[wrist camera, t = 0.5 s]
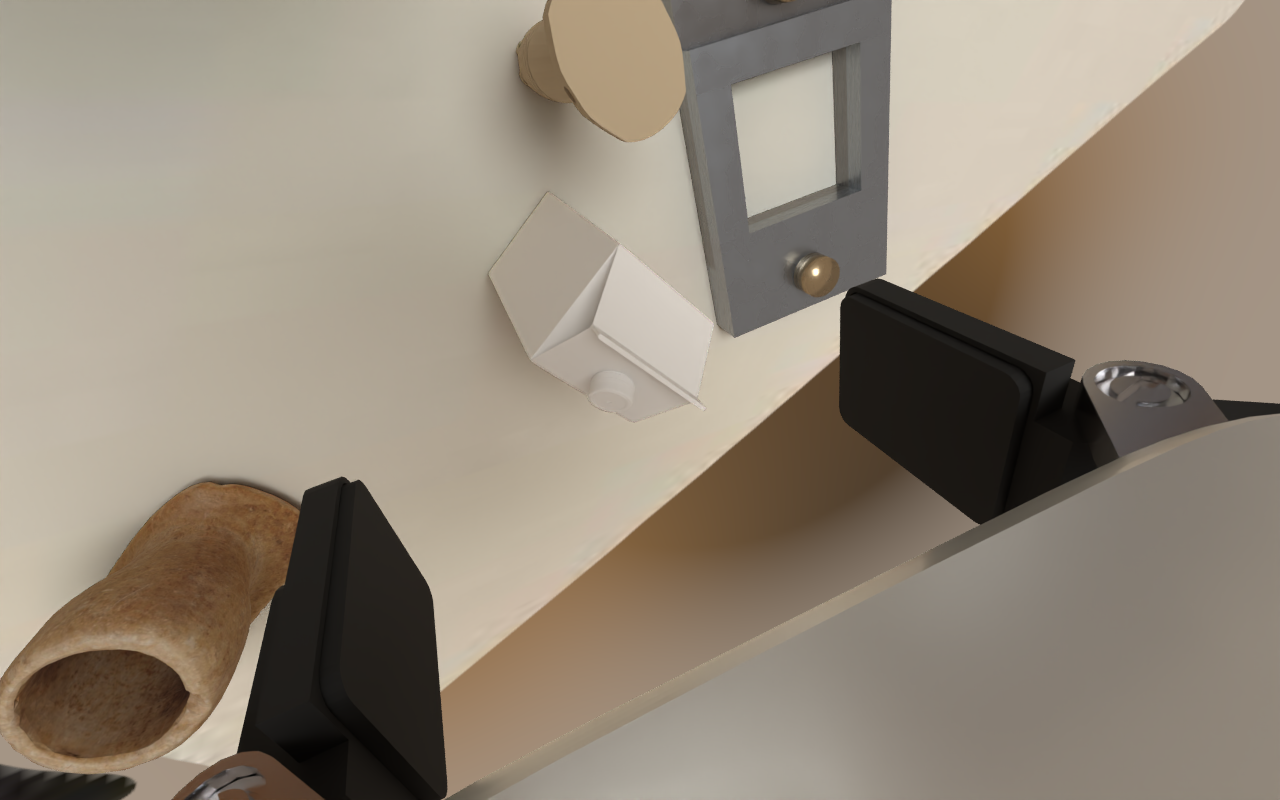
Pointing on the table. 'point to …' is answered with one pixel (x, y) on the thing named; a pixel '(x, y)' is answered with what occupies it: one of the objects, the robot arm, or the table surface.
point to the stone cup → (150, 635)
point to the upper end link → (819, 230)
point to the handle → (608, 63)
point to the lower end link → (733, 3)
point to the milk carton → (600, 316)
